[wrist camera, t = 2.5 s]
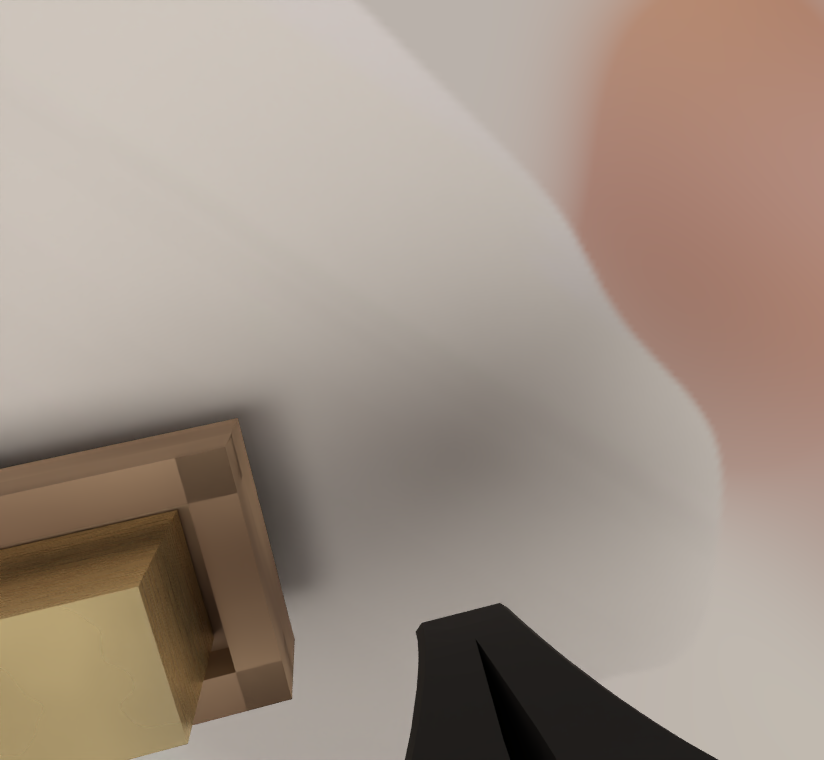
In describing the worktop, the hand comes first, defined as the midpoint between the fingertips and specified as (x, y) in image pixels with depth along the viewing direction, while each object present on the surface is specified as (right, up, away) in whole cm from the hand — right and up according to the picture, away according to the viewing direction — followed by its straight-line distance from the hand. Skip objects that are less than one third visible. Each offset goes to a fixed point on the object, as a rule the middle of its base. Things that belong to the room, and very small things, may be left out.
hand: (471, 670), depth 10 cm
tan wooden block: (-8, 0, +4) cm, 9 cm away
